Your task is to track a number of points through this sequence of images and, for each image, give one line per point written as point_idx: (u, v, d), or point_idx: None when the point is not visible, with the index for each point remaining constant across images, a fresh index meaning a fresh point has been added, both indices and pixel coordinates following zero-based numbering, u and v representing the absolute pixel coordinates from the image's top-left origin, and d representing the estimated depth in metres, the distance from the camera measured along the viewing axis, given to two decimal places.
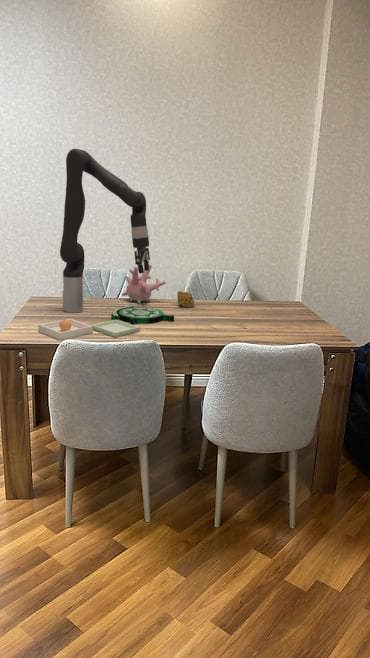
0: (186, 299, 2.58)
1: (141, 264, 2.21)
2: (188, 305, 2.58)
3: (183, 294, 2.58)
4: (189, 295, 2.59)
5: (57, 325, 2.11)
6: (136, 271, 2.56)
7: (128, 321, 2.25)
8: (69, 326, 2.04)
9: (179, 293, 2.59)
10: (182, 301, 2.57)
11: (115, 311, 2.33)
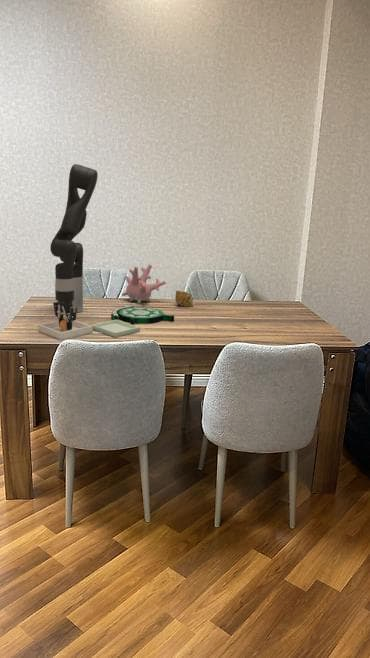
0: (184, 298, 2.58)
1: (58, 317, 2.06)
2: (186, 304, 2.59)
3: (181, 293, 2.59)
4: (187, 295, 2.59)
5: (57, 325, 2.11)
6: (136, 271, 2.56)
7: (128, 321, 2.25)
8: None
9: (177, 292, 2.60)
10: (180, 300, 2.58)
11: (115, 311, 2.33)
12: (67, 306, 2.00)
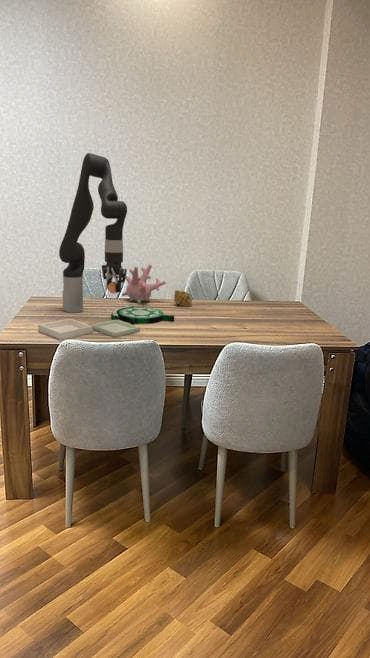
0: (182, 298, 2.59)
1: None
2: (184, 304, 2.59)
3: (180, 293, 2.60)
4: (186, 294, 2.60)
5: (57, 325, 2.11)
6: (136, 271, 2.56)
7: (128, 321, 2.25)
8: None
9: (176, 292, 2.61)
10: (178, 300, 2.59)
11: (115, 311, 2.33)
12: (116, 268, 2.01)
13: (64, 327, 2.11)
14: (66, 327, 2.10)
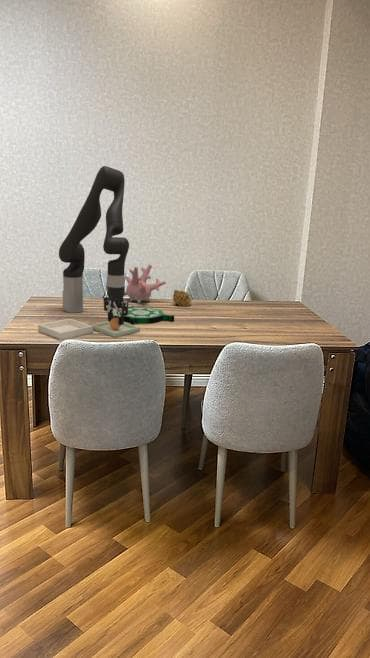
0: (181, 298, 2.60)
1: (107, 312, 2.12)
2: (183, 304, 2.60)
3: (179, 293, 2.61)
4: (185, 294, 2.60)
5: (57, 325, 2.11)
6: (136, 271, 2.56)
7: (128, 321, 2.25)
8: None
9: (175, 292, 2.61)
10: (177, 300, 2.59)
11: (115, 311, 2.33)
12: (118, 302, 2.06)
13: (64, 327, 2.11)
14: (66, 327, 2.10)
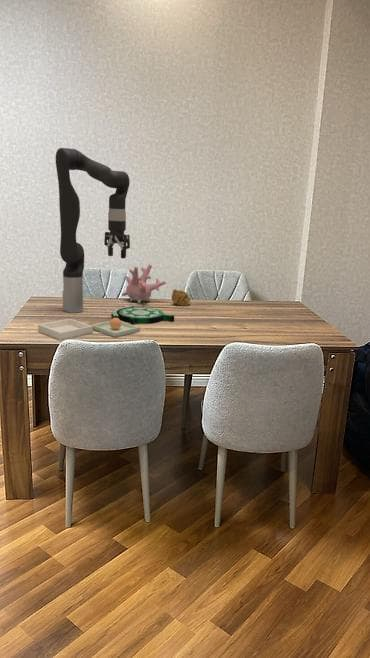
0: (180, 297, 2.61)
1: (107, 246, 2.17)
2: (181, 303, 2.61)
3: (177, 292, 2.62)
4: (183, 294, 2.61)
5: (57, 325, 2.11)
6: (136, 271, 2.56)
7: (128, 321, 2.25)
8: (119, 324, 2.10)
9: (174, 291, 2.63)
10: (175, 299, 2.60)
11: (115, 311, 2.33)
12: (120, 235, 2.10)
13: (64, 327, 2.11)
14: (66, 327, 2.10)
